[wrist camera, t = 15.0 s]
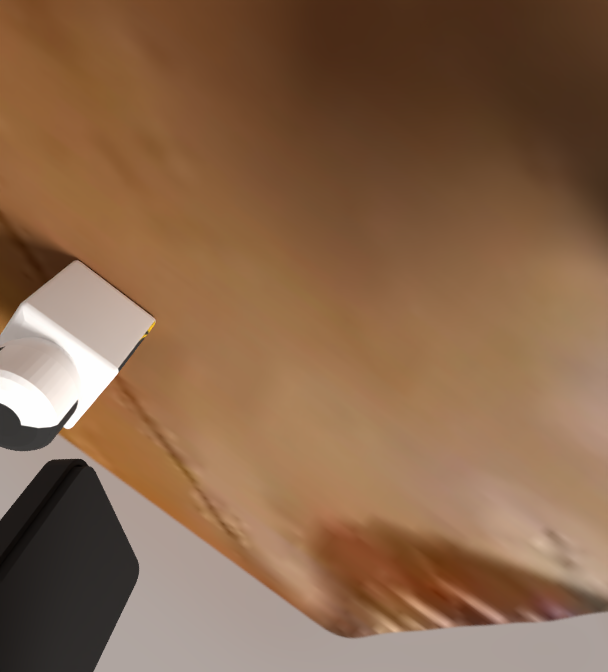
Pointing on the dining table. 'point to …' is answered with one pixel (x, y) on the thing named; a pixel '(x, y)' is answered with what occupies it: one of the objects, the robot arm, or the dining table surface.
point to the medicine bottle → (63, 354)
